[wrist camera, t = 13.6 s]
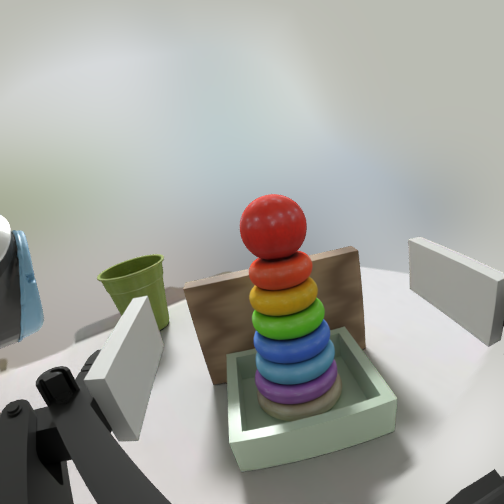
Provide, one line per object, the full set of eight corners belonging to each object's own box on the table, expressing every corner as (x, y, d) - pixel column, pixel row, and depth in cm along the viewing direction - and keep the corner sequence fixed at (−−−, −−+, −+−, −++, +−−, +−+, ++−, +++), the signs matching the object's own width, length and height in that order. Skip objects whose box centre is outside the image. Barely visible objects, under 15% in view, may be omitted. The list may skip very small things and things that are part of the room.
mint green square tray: (241, 472, 22) (229, 442, 21) (234, 383, 34) (226, 354, 33) (394, 431, 22) (397, 398, 21) (347, 356, 35) (344, 326, 34)
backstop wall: (213, 384, 34) (183, 289, 31) (213, 375, 36) (185, 282, 33) (365, 348, 35) (358, 250, 32) (359, 340, 37) (351, 246, 34)
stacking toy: (354, 411, 25) (333, 189, 20) (264, 434, 24) (208, 214, 20) (329, 364, 32) (303, 184, 28) (255, 382, 32) (212, 202, 27)
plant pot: (138, 313, 60) (120, 259, 57) (191, 309, 57) (175, 250, 55) (106, 344, 49) (83, 282, 46) (164, 344, 46) (141, 274, 43)
